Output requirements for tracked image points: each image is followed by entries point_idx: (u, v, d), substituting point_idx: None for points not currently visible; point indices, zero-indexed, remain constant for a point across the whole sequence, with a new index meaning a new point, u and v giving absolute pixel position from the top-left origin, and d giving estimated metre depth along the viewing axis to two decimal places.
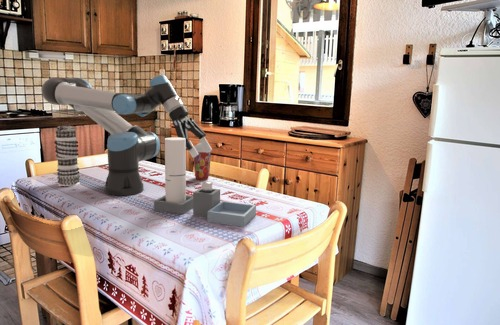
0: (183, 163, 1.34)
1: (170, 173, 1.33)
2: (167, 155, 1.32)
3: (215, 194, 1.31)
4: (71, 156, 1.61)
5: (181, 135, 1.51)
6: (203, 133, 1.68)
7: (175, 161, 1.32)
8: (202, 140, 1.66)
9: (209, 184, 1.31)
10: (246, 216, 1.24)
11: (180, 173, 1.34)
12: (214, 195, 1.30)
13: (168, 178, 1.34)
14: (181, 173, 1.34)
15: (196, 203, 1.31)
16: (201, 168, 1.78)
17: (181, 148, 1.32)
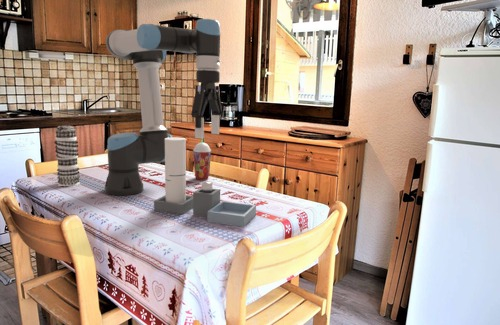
0: (183, 163, 1.34)
1: (170, 173, 1.33)
2: (167, 155, 1.32)
3: (215, 194, 1.31)
4: (71, 156, 1.61)
5: (197, 108, 1.19)
6: (220, 110, 1.36)
7: (175, 161, 1.32)
8: (214, 118, 1.34)
9: (209, 184, 1.31)
10: (246, 216, 1.24)
11: (180, 173, 1.34)
12: (214, 195, 1.30)
13: (168, 178, 1.34)
14: (181, 173, 1.34)
15: (196, 203, 1.31)
16: (201, 168, 1.78)
17: (181, 148, 1.32)
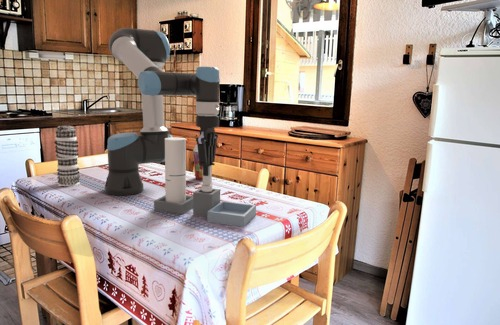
0: (183, 163, 1.34)
1: (170, 173, 1.33)
2: (167, 155, 1.32)
3: (215, 194, 1.31)
4: (71, 156, 1.61)
5: (203, 159, 1.27)
6: (213, 158, 1.33)
7: (175, 161, 1.32)
8: None
9: (209, 187, 1.31)
10: (246, 216, 1.24)
11: (180, 173, 1.34)
12: (214, 195, 1.30)
13: (168, 178, 1.34)
14: (181, 173, 1.34)
15: (196, 203, 1.31)
16: (201, 168, 1.78)
17: (181, 148, 1.32)
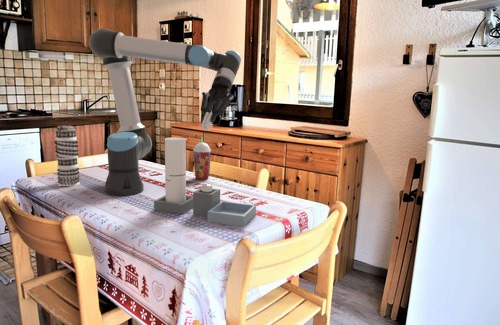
0: (183, 163, 1.34)
1: (170, 173, 1.33)
2: (167, 155, 1.32)
3: (215, 194, 1.31)
4: (71, 156, 1.61)
5: (223, 110, 1.46)
6: None
7: (175, 161, 1.32)
8: (208, 116, 1.45)
9: (209, 187, 1.31)
10: (246, 216, 1.24)
11: (180, 173, 1.34)
12: (214, 195, 1.30)
13: (168, 178, 1.34)
14: (181, 173, 1.34)
15: (196, 203, 1.31)
16: (201, 168, 1.78)
17: (181, 148, 1.32)
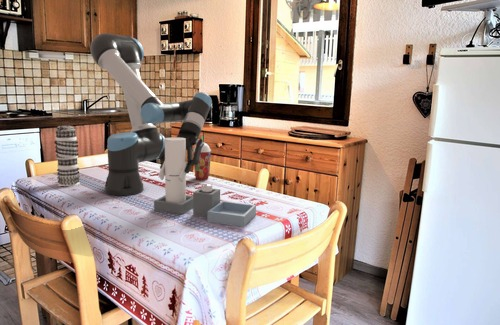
0: (183, 163, 1.34)
1: (170, 173, 1.33)
2: (167, 155, 1.32)
3: (215, 194, 1.31)
4: (71, 156, 1.61)
5: (198, 159, 1.37)
6: None
7: (175, 161, 1.32)
8: None
9: (209, 187, 1.31)
10: (246, 216, 1.24)
11: None
12: (214, 195, 1.30)
13: (168, 178, 1.34)
14: None
15: (196, 203, 1.31)
16: (201, 168, 1.78)
17: (181, 148, 1.32)
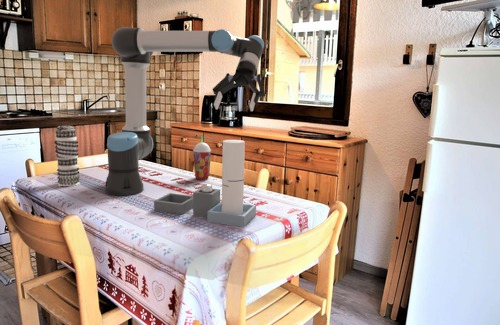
0: (242, 167, 1.25)
1: (229, 178, 1.24)
2: (226, 159, 1.23)
3: (215, 194, 1.31)
4: (71, 156, 1.61)
5: None
6: None
7: (235, 165, 1.23)
8: (220, 96, 1.45)
9: (209, 187, 1.31)
10: (246, 216, 1.24)
11: (239, 178, 1.25)
12: (214, 195, 1.30)
13: (226, 183, 1.25)
14: (240, 178, 1.25)
15: (196, 203, 1.31)
16: (201, 168, 1.78)
17: (241, 151, 1.23)
